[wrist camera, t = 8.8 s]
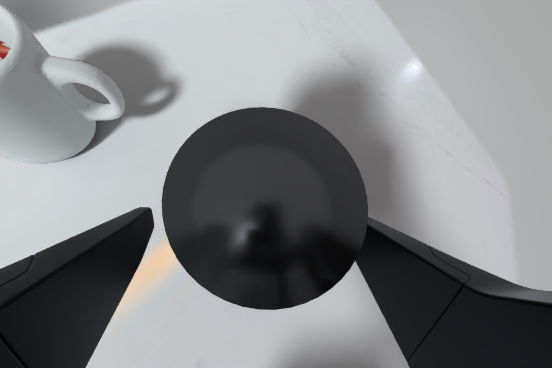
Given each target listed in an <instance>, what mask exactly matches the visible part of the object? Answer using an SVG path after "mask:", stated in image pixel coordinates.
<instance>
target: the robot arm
mask: <svg viewBox="0 0 552 368" xmlns="http://www.w3.org/2000/svg"><path fill="white" fill-rule="evenodd" d="M153 229H154V220H153V214H152V210H151V208H149V207H139V208H137V209H134V210H132V211H130V212H128V213H125V214H123V215H121V216H119V217H116V218H114V219H112V220H110V221H107V222H105V223H103V224H101V225H98V226H96V227H94V228H92V229H89V230H87V231H85V232H83V233H80V234H78V235H76V236H74V237H71V238H69V239H67V240H65V241H63V242H60V243H58V244H56V245H54V246H51V247H49V248H47V249H45V250H42V251H40V252H38V253H36V254H35V255H31V256H29V257H26V258H24V259H22V260H20V261H18V262H15V263H13V264H11V265H8V266H6V267H4V268H1V269H0V368H86V366H87V364H88V362H89V360H90V358H91V356H92V354H93V352H94V350H95V349H96V347H97V345H98V343H99V341H100V339H101V337H102V335H103V333H104V331H105V329H106V328H107V326H108V324H109V322H110V320H111V318H112V316H113V314H114V312H115V310H116V308H117V307H118V305H119V303H120V301H121V299H122V297H123V295H124V293H125V291H126V289H127V287H128V285H129V284H130V282H131V280H132V278H133V276H134V274H135V272H136V270H137V268H138V266H139V264H140V262H141V260H142V258H143V255H144V253H145V250H146V248H147V245H148V242H149V240H150V237H151V234H152V232H153ZM355 261H356V263H357V265H358V267H359V269H360V271H361V273H362V275H363V277H364V279H365V280H366V282H367V284H368V286H369V288H370V290H371V292H372V294H373V296H374V298H375V300H376V302H377V304H378V306H379V308H380V310H381V312H382V314H383V316H384V318H385V320H386V322H387V324H388V326H389V328H390V330H391V332H392V333H393V335H394V337H395V339H396V341H397V343H398V345H399V347H400V349H401V351H402V353H403V355H404V357H405V359H406V361H407V362H408V365H409V367H410V368H552V291H542V290H536V289H531V288H527V287H523V286H520V285H517V284H514V283H512V282H509V281H507V280H505V279H502V278H500V277H498V276H495V275H493V274H491V273H488V272H486V271H484V270H482V269H479V268H477V267H475V266H472V265H470V264H468V263H465V262H463V261H461V260H459V259H456V258H454V257H452V256H450V255H448V254H446V253H443V252H441V251H439V250H437V249H435V248H433V247H431V246H428V245H426V244H424V243H422V242H420V241H418V240H416V239H414V238H412V237H410V236H408V235H406V234H403V233H401V232H399V231H397V230H395V229H393V228H391V227H389V226H387V225H385V224H382V223H380V222H378V221H376V220H374V219H372V218H370V217H368V222H367V228H366V234H365V238H364V241H363V245H362V247H361V249H360V252H359V254H358V256H357V258H356V260H355Z"/></svg>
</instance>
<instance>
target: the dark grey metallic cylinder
mask: <svg viewBox="0 0 552 368" xmlns="http://www.w3.org/2000/svg"><path fill="white" fill-rule="evenodd" d="M162 216H163V222H164V227H165V232H166V235H167V237H168V240H169V243H170V246H171V248H172V250H173V251H174V253H175V255H176V257H177V259H178V261H179V262H180V263H181V265H182V266H183V267H184V269H185V270H186V271H187V273H188V274H189V275H190V276H191V277H192V278H193V279H194V280H195V281H196V282H197V283H198V284H200V285H201V286H202V287H204V288H205V289H207V290H208V291H209V292H211V293H212V294H214V295H216V296H218V297H220V298H222V299H223V300H225V301H228V302H230V303H233V304H236V305H239V306H242V307H248V308H254V309H265V310H276V309H283V308H291V307H294V306H297V305H301V304H304V303H307V302H309V301H311V300H313V299H315V298H317V297H319V296H321V295H322V294H324V293H325V292H327V291H328V290H330V289H331V288H332V287H333V286H334V285H336V284H337V283H338V282H339V281H340V280H341V279H342V278H343V277H344V275H345V274H346V273H347V272H348V271H349V269H350V268H351V266H352V265H353V263H354V261H355V260H356V258H357V256H358V254H359V252H360V249H361V247H362V245H363V241H364V238H365V234H366V228H367V222H368V204H367V195H366V191H365V186H364V183H363V180H362V177H361V174H360V172H359V170H358V168H357V166H356V164H355V162H354V160H353V159H352V157H351V155H350V154H349V152H348V151H347V150H346V149H345V147H344V146H343V145H342V144H341V143H340V142H339V141H338V140H337V139H336V138H335V137H334V136H333V135H332V134H331V133H330V132H329V131H327V130H326V129H325V128H323V127H322V126H320V125H319V124H317V123H316V122H314V121H312V120H310V119H308V118H306V117H304V116H302V115H299V114H297V113H293V112H290V111H286V110H282V109H276V108H265V107H259V108H247V109H240V110H236V111H233V112H229V113H226V114H224V115H221V116H219V117H217V118H215V119H213V120H211V121H209V122H208V123H206V124H205V125H203V126H202V127H200V128H199V129H198V130H196V131H195V132H194V133H193V134H192V135H191V136H190V137H189V138H188V139H187V140H186V141H185V143H184V144H183V145H182V146H181V148H180V149H179V150H178V152H177V154H176V155H175V157H174V159H173V160H172V163H171V165H170V167H169V170H168V172H167V175H166V179H165V183H164V187H163V195H162Z"/></svg>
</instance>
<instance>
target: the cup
mask: <svg viewBox="0 0 552 368" xmlns="http://www.w3.org/2000/svg"><path fill="white" fill-rule="evenodd" d="M72 83H80V84H84V85H87V86H90V87H92V88H94V89H96V90H97V91H99V92H100V93H102V94H103V95H104V96H105V97H106V98H107V99H108V100H109V102H110V103H109V104H102V103H97V102H94V101H92V100H89V99H88V98H86V97H84V96H83V95H82V94H80V93H79V91H78V90H77V89H76V88H75V86H74V85H73V84H72ZM124 110H125V100H124V97H123V94H122V92H121V90H120V89H119V87H118V86H117V85H116V83H115V82H114V81H113V80H112V79H111V78H110V77H109V76H108V75H107V74H106V73H104V72H103V71H101V70H100V69H98V68H96V67H94V66H92V65H90V64H87V63H84V62H81V61H78V60H73V59H68V58H61V57H55V56H50V55H49V54H48V52H47V51H46V50H45V49H44V47H43V46H42V45H41V44H40V42H39V41H38V40H37V39H36V37H35V36H34V35H33V34H32V32H31V31H30V30H29V29H28V27H27V26H26V25H25V24H24V23H23V21H22V20H21V19H20V18H19V17H18V16H17V15H15V14H14V13H13V12H12V11H11V10H9V9H8V8H6V7H5V6H3V5H2V4H0V157H3V158H7V159H10V160H14V161H19V162H25V163H33V164H45V163H53V162H58V161H62V160H65V159H67V158H70V157H72V156H74V155H76V154H77V153H79V152H80V151H82V150H83V149H84V148H85V147H86V146H87V145H88V144H89V143H90V142H91V140H92V138H93V137H94V134H95V131H96V120H113V119H117V118H119V117H121V116H122V115H123V113H124Z"/></svg>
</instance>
